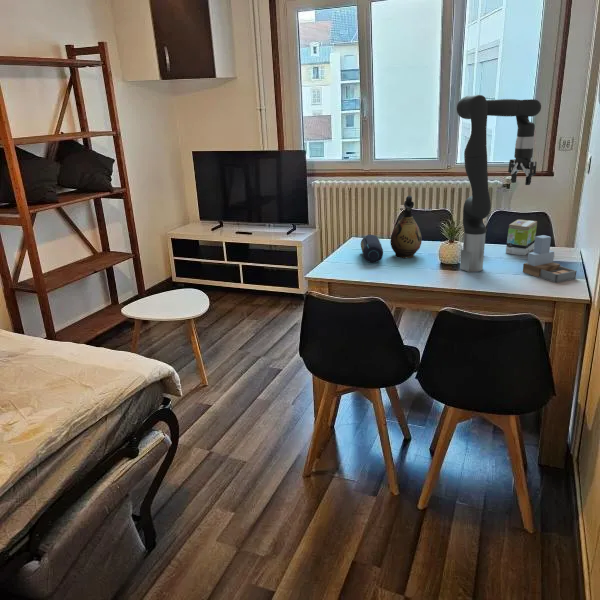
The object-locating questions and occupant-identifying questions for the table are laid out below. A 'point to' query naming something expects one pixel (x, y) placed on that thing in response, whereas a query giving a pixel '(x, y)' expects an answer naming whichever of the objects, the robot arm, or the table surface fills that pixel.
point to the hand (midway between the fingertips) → (520, 183)
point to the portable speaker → (371, 249)
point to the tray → (558, 275)
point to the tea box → (521, 237)
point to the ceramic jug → (406, 233)
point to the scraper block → (541, 251)
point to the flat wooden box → (539, 268)
